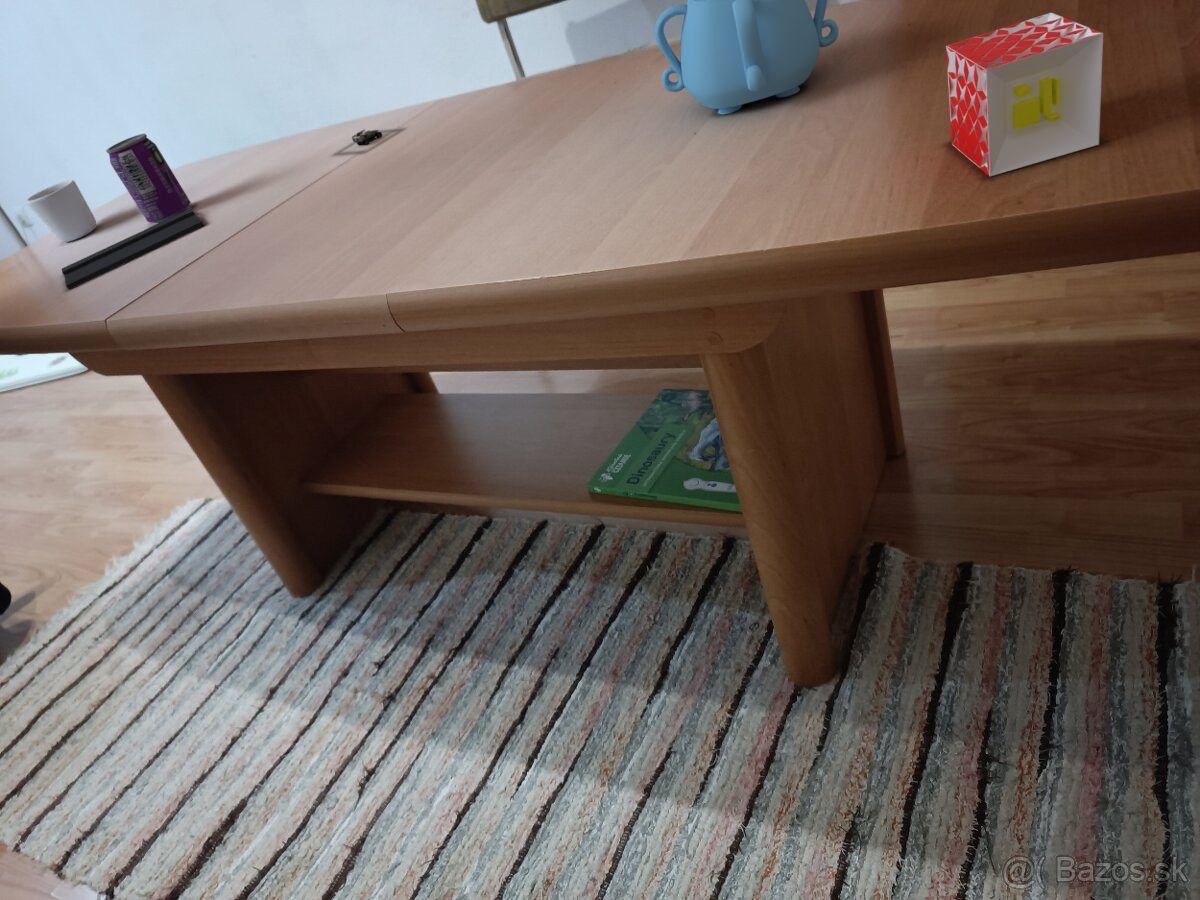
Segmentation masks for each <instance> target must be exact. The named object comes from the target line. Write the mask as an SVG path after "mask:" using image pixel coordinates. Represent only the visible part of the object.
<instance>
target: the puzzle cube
mask: <svg viewBox="0 0 1200 900" xmlns="http://www.w3.org/2000/svg"><path fill="white" fill-rule="evenodd" d="M945 49H946V50H945V52H946V53H945V54H946V55H945V56H946V71H947V83H948V85H947V86H948V100H949V116H950V135H951V145H952V146H953V147H955V149H957V150H958V151H959V152H960V153H961V154H962V155H964V156H965V157H966V158H967V159H968V160H970V161H971V162H972V163H973V164H974V165H976V166H977V167H978V168H979V169H980V170H981V171H982V172H984V174H986V175H987V176H988V177H993V176H997V175H1000V174H1003V173H1006V172H1010V171H1015V170H1017V169H1021V168H1024V167H1027V166H1031V165H1034V164H1037V163H1042V162H1045V161H1048V160H1051V159H1054V158H1059V157H1062V156H1065V155H1068V154H1072V153H1076V152H1078V151H1082V150H1085V149H1089V148H1093V147H1096V146H1100V135H1101V111H1102V109H1101V108H1102V87H1103V86H1102V85H1103V58H1104V57H1103V56H1104V32H1102V31H1098V30H1096V29H1093V28H1091V27H1088V26H1086V25H1083V24H1081V23H1079V22H1076V21H1074V20H1071V19H1068V18H1066V17H1064V16H1062V15H1059V14H1056V13H1053V12H1048V13H1046V14H1042V15H1039V16H1035V17H1032V18H1030V19H1026V20H1023V21H1019V22H1016V23H1014V24H1011V25H1008V26H1007V25H1006V26H1004V27H1001V28H998V29H995V30H992V31H988V32H985V33H982V34H979V35H975V36H973V37H969V38H965V39H963V40H960V41H957V42H954V43H950V44H948V45H945Z"/></svg>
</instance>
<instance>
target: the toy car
mask: <svg viewBox="0 0 1200 900" xmlns="http://www.w3.org/2000/svg"><path fill="white" fill-rule="evenodd" d="M382 137H383V132H381V131H379V129H375V130H374V129H373V130H371V129H367V130H366V129H365V128H364V129H361V130H360V131H358V132H357V133H356V134H354V135H352V136H351V139H352V142H353V143H356V145H357V146H359V147H360V146H361V147H362V146H369V145H370V144H371V143H372V142H373V141H375V140H377V139H380V138H382Z"/></svg>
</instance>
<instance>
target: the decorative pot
mask: <svg viewBox="0 0 1200 900" xmlns="http://www.w3.org/2000/svg"><path fill="white" fill-rule="evenodd" d="M815 4H816V5H815V10H814V15H812V12H811V11H810V8H809V7H808V4H807V3H806V1H805V0H687V2H686V4H684V3H678V4H673V5H671V6H669V7H667V8H666V9H665V10H664V11H663V12H662V13H661V14H660V15H659V16H658V18H657V20H656V22H655V25H654V37H655V38H654V39H655V41H656V43H657V46H658V48H659V50H660V51H661V53H662V54H663V56H664V58H665V59H666V61H667V62H668V63H669V65H670V66H669V67H667V68H665V70H664V71H663V73H662V75H661V83H662V85H663V87H664V89H665V90H667V91H668V92H672V93H678V92H681V91H683V90H684V89H685V90H686V91H687V93H689V94H690V95H691V97H692V98H694V100H696V102H698V103H699V104H700V105H702V106H703V107H705V108H707V109H714V110H718V111H717V114H718V115H728V114H732V113H734V112H737V111H739V110H740V109H741V108H742V105H745V104H749V103H752V102H755V101H760V100H763V99H766V98H770V97H773V96H775V97H776V98H786V97H789V96H792V95H795V94H797V93H798V92H799V91H800V90H801V89H800V87H799V86H800V85H802V84H803V83H805V82H806V81H807V80H808V79H809V77H810V76H811V73H812V72H813V69H814V67H815V64H816V62H817V60H818V57H819V54H820V48H822V49H823V48H827V47H829V46H831V45H832V44H834V43H835V42H836V41H837V39H838V37H839V27H838V24H837V22H836V20H833V19H831V18H827V19H825V15H826V11H827V10H826V9H827V4H828V0H816V3H815ZM682 15H684V16H683V22H682V27H681V34H680V35H681V36H680V44H679V58H678V57H677V55H676V54H675V52H674V51H673V49H672V48H671V46H670V44H669V43H668V41H667V37H666V35H665V30H664V28H665V25H666V23H667V22H668V21H669V20H670V19H672V18H674V17H675V16H682ZM824 28H829V30H830V31H829V33H828V34H827V35H825V36H823V29H824ZM673 74H676V77H677V81H676V82H673V81H672V80H670V75H673Z"/></svg>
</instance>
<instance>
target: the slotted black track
mask: <svg viewBox="0 0 1200 900" xmlns="http://www.w3.org/2000/svg"><path fill="white" fill-rule="evenodd" d="M203 227H205V224H204V222H203V221H202V220H201V219H200V218H199V217H198V215H197V214H196V212H195V211H194V210H193V209H192V208H187V210H186V211H184V212H182V213H180V214H178V215H176V216H173V217H171V218H169V219H167V220H165V221H163V222H161V223H156V224H154V225H152V226H150V227H147V228H145V229H143V230H141V231H139V232H137V233H135V234H133V235H131V236H129V237H126V238H124V239H122V240H120V241H118V242H115V243H114V244H111V245H109V246H107V247H105V248H102V249H100V250H98V251H96V252H94V253H92V254H90V255H88V256H85V257H84V258H81V259H79V260H77V261H75V262H73V263H71V264H67V265H66V266H64V267H62V268H61V273H62V275H64V282H65V287H66V288H67V290H69V291H70V290H72V289H74V288H77V287H78V286H81V285H82V284H85V283H87V282H89V281H91V280H93V279H95V278H97V277H99V276H102V275H103V274H105V273H108V272H109V271H112V270H114V269H116V268H118V267H120V266H123V265H124V264H126V263H129V262H130V261H133V260H135V259H137V258H139V257H141V256H143V255H145V254H148V253H150V252H152V251H155V250H156V249H158V248H160V247H163V246H165V245H167V244H169V243H171V242H173V241H175V240H177V239H179V238H182V237H184V236H186V235H188V234H190V233H192V232H195V231H196V230H198V229H200V228H203Z"/></svg>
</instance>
